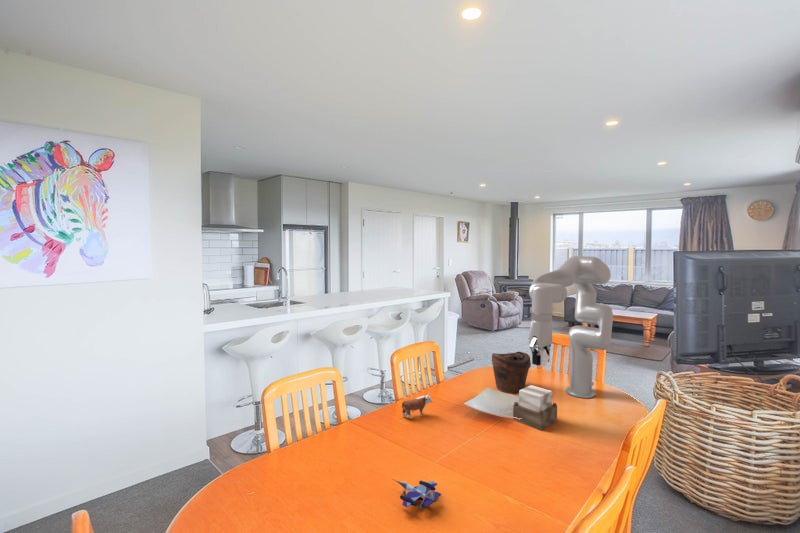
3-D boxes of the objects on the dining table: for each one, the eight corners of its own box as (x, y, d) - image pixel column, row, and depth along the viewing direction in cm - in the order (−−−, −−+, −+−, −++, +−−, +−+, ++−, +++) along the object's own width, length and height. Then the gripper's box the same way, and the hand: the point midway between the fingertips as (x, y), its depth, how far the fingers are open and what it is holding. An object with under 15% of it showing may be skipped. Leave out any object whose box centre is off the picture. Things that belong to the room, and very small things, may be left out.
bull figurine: (434, 415, 162) (434, 395, 162) (403, 420, 158) (403, 400, 157) (429, 411, 167) (429, 392, 166) (399, 416, 162) (399, 396, 161)
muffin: (534, 362, 160) (534, 344, 159) (550, 364, 157) (550, 346, 156) (531, 366, 154) (531, 348, 154) (547, 368, 151) (548, 350, 151)
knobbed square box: (529, 411, 166) (529, 383, 165) (556, 421, 157) (557, 391, 156) (513, 419, 158) (513, 390, 158) (541, 430, 149) (541, 399, 149)
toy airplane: (389, 486, 115) (389, 474, 115) (437, 485, 116) (437, 473, 116) (389, 517, 102) (389, 504, 102) (443, 516, 103) (443, 503, 102)
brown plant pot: (535, 385, 196) (535, 349, 195) (524, 399, 179) (524, 359, 178) (499, 379, 206) (499, 345, 205) (486, 392, 189) (485, 354, 188)
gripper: (543, 313, 163) (542, 356, 164) (521, 318, 151) (520, 365, 152) (561, 315, 158) (560, 360, 159) (539, 321, 146) (538, 370, 147)
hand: (540, 362), depth 156 cm, fingers closed on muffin, 6 cm apart
